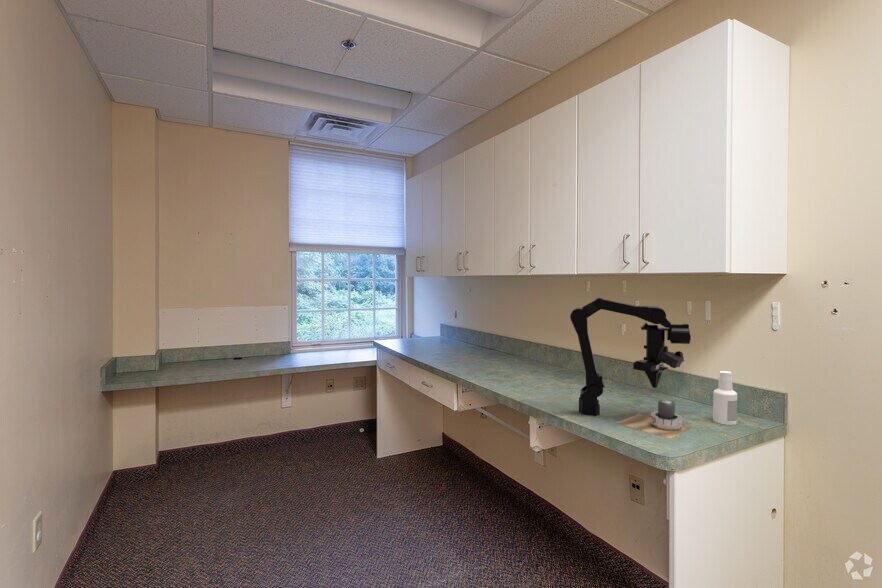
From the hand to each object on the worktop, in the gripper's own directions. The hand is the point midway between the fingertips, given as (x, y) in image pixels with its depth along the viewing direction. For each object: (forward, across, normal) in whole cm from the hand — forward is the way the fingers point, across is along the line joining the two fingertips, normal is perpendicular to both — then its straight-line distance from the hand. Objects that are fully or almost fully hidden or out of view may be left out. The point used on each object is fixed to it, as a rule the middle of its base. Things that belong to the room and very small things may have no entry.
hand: (654, 387), depth 151 cm
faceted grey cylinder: (+11, -4, -6) cm, 13 cm away
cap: (+9, -4, -6) cm, 12 cm away
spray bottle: (+12, +16, -16) cm, 26 cm away
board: (+12, -6, -3) cm, 14 cm away
